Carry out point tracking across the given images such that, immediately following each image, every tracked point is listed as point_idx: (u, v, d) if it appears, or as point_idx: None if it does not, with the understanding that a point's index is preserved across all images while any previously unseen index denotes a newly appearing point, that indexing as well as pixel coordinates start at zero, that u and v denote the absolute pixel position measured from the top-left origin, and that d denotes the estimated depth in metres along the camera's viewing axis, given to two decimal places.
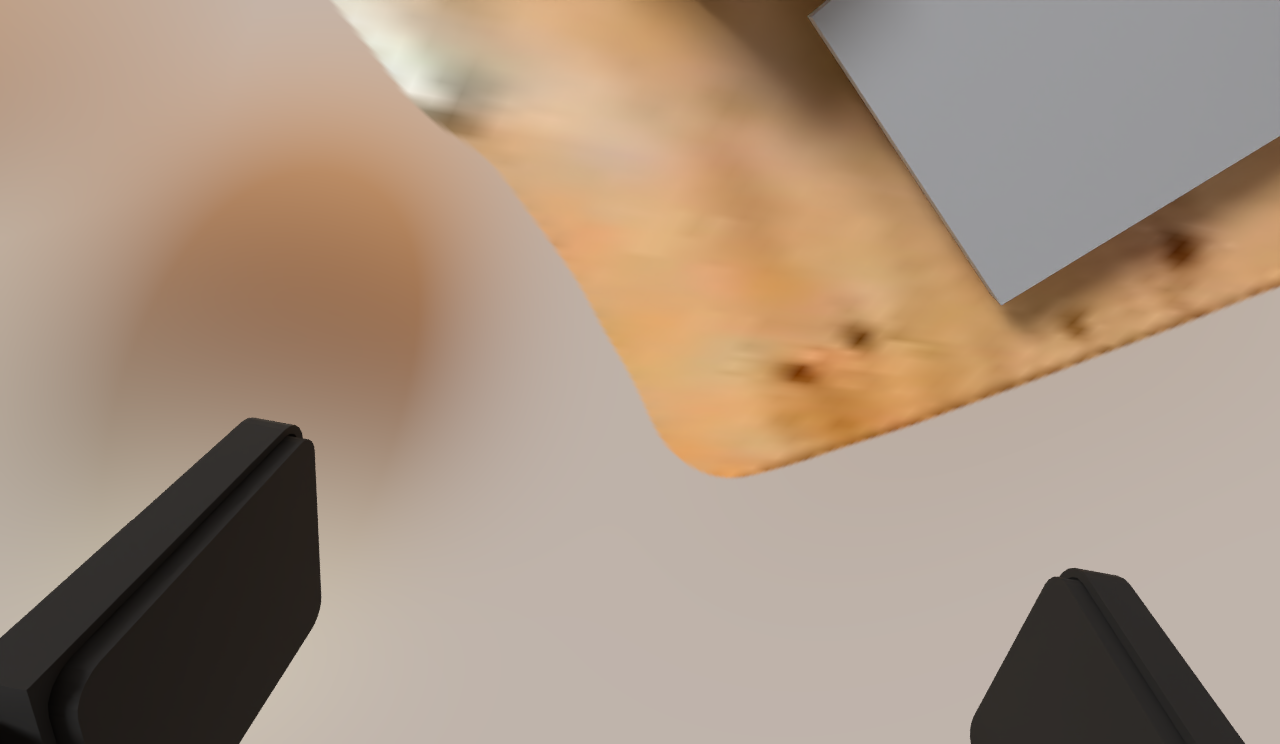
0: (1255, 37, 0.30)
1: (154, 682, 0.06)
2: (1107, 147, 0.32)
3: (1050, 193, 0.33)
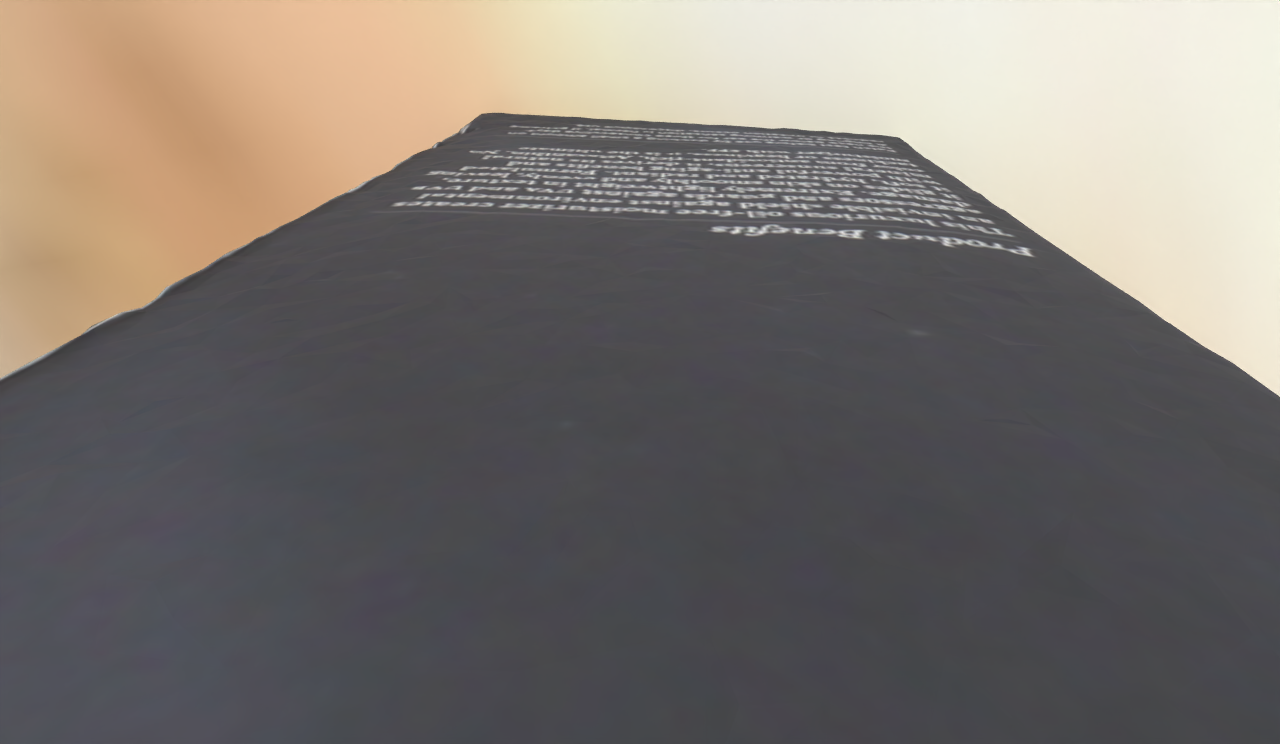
0: None
1: None
2: None
3: None
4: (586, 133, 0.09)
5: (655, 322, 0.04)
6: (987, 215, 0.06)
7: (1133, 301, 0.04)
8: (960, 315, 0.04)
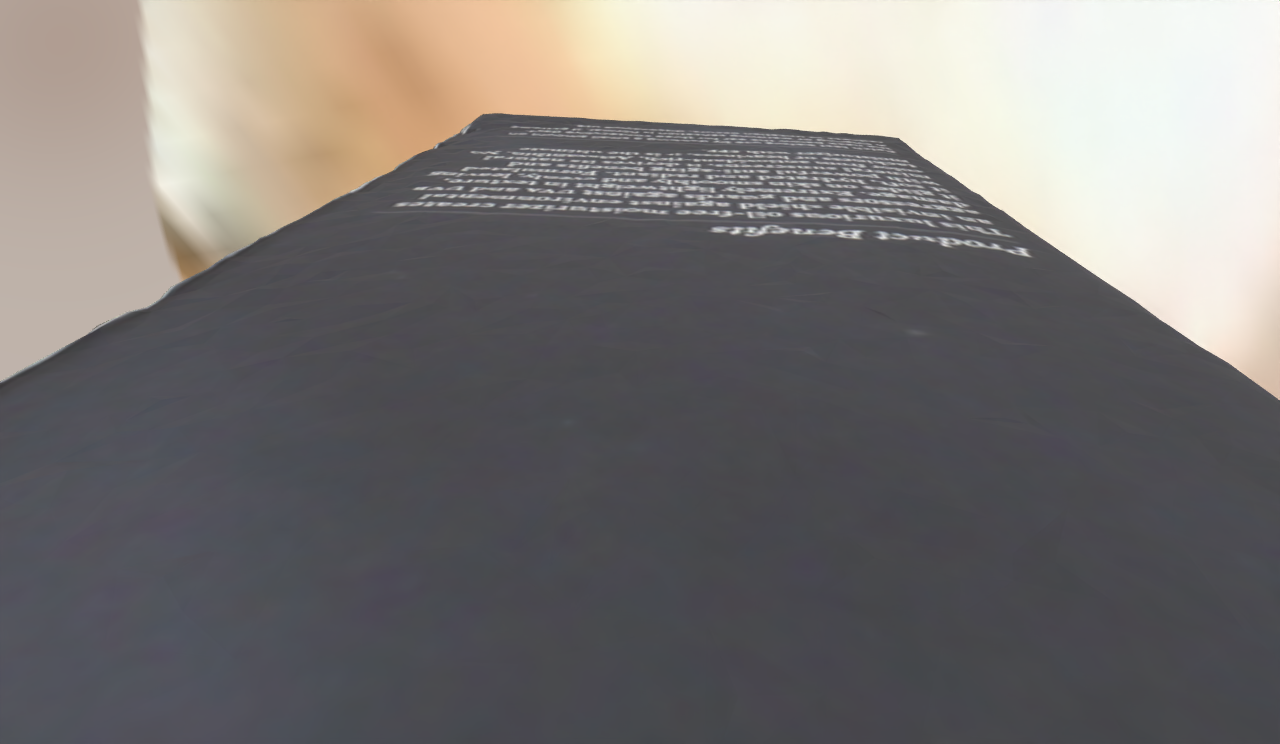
0: None
1: None
2: None
3: None
4: (587, 134, 0.09)
5: (655, 322, 0.04)
6: (986, 216, 0.06)
7: (1130, 301, 0.05)
8: (959, 313, 0.04)
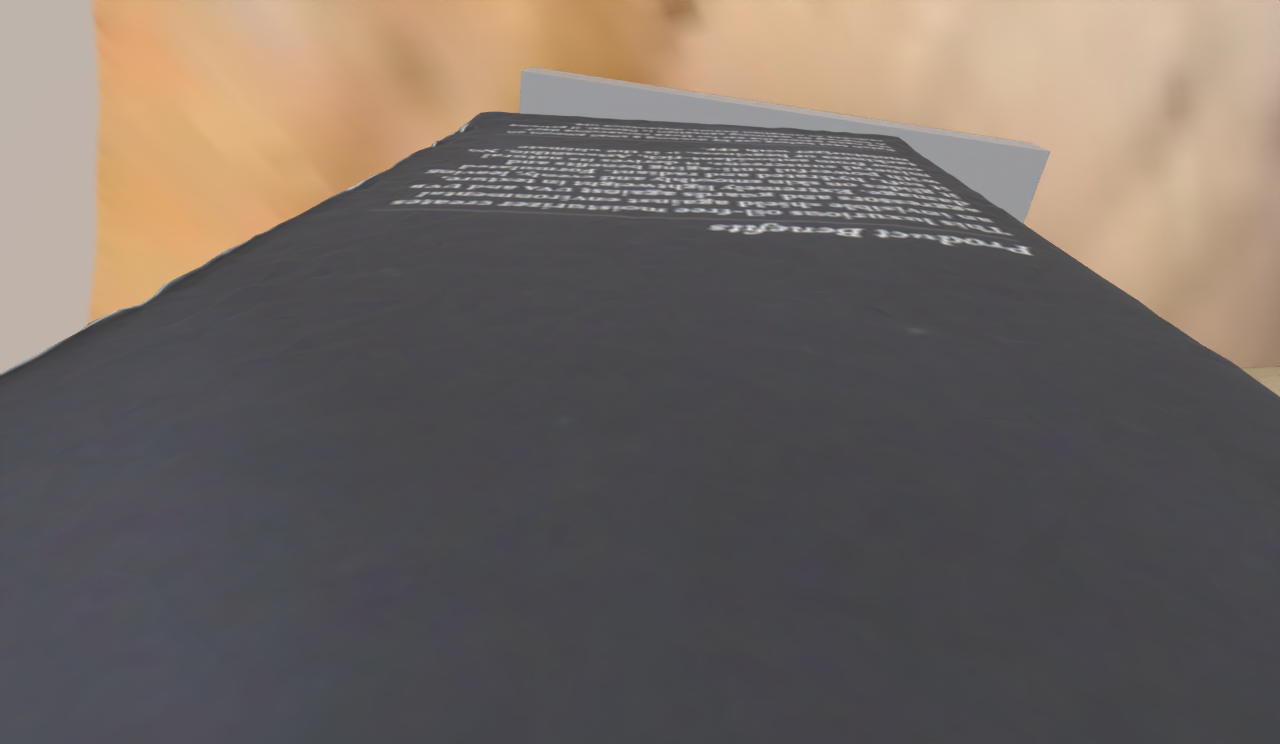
0: None
1: None
2: None
3: None
4: (585, 132, 0.09)
5: (653, 318, 0.04)
6: (986, 214, 0.06)
7: (1131, 300, 0.04)
8: (958, 313, 0.04)
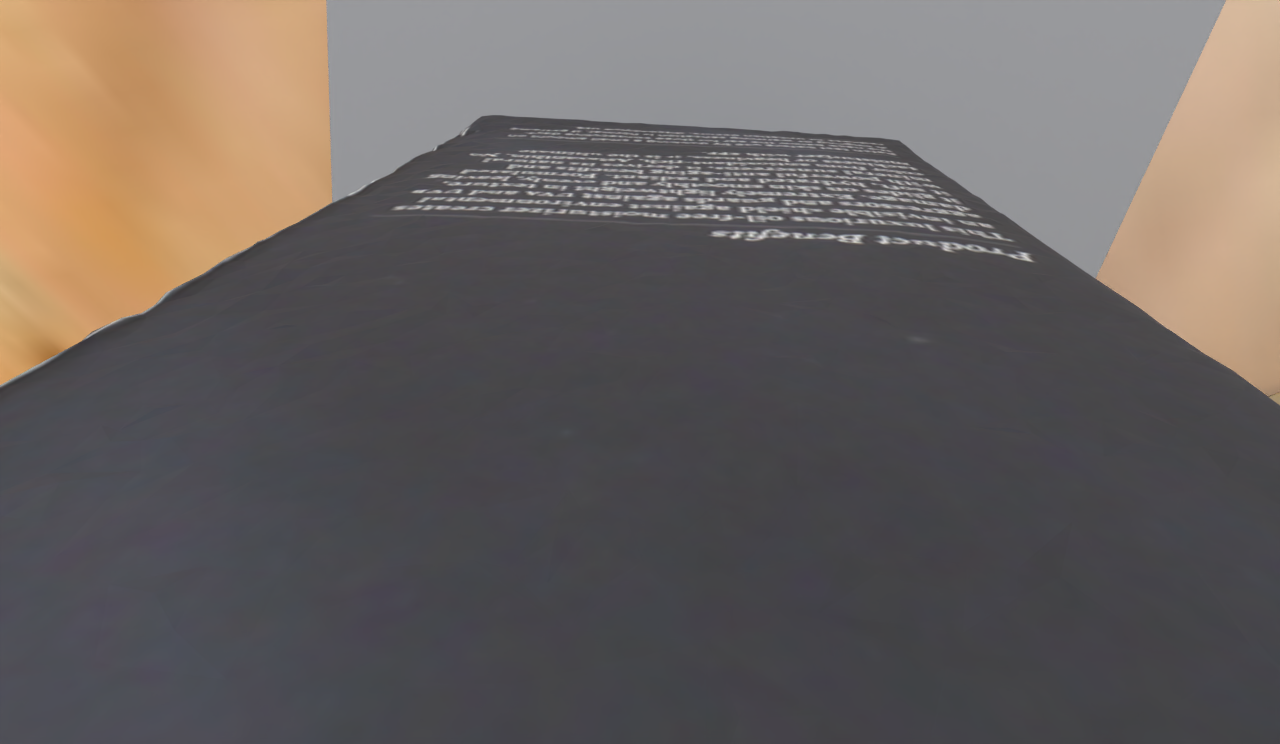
0: None
1: None
2: None
3: None
4: (586, 136, 0.09)
5: (655, 328, 0.04)
6: (987, 220, 0.06)
7: (1133, 307, 0.04)
8: (960, 320, 0.04)
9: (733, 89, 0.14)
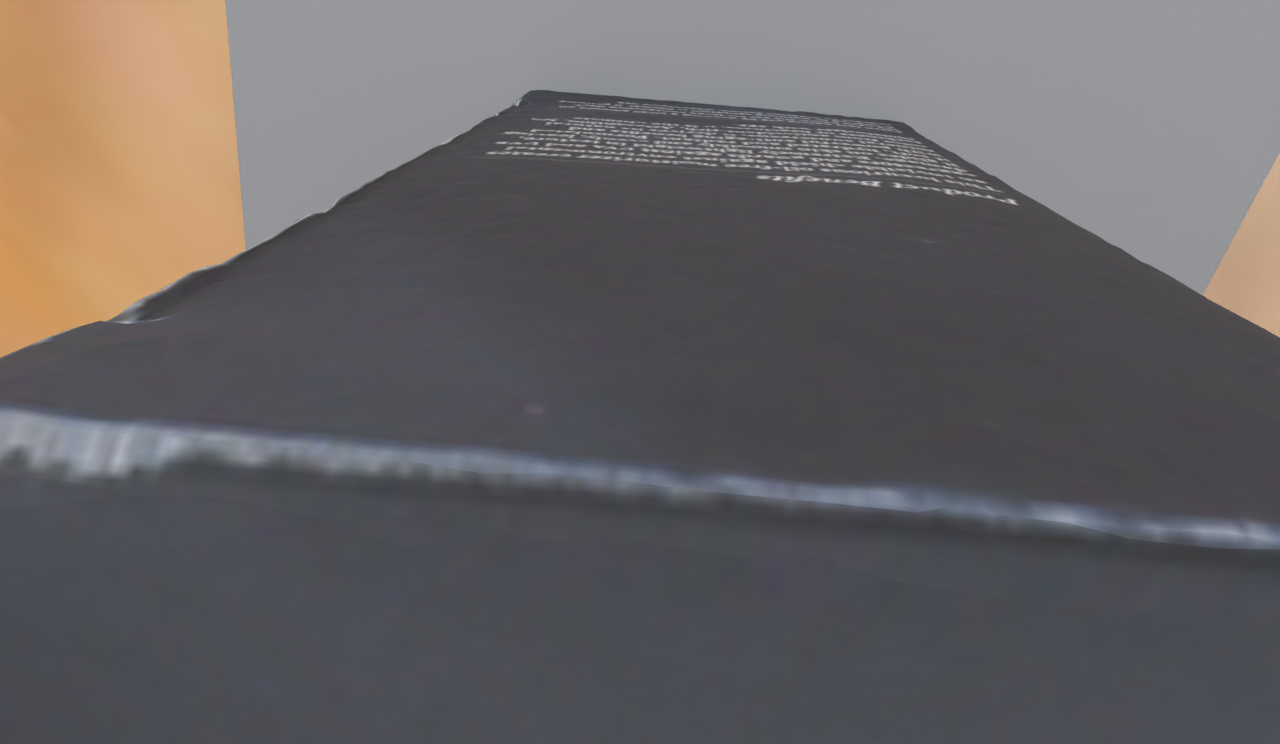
0: None
1: None
2: None
3: None
4: (628, 109, 0.10)
5: (729, 229, 0.05)
6: (981, 178, 0.07)
7: (1095, 236, 0.06)
8: (960, 233, 0.05)
9: None
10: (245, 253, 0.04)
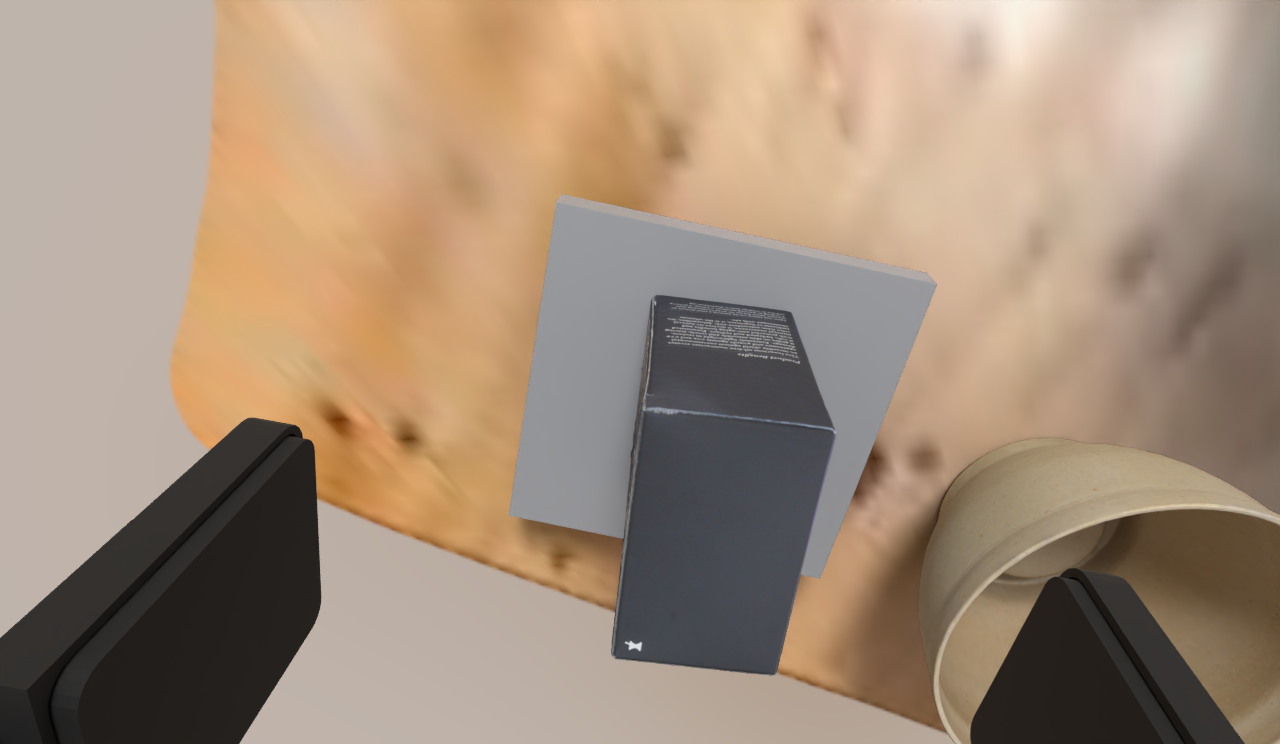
0: None
1: (154, 682, 0.06)
2: None
3: (602, 474, 0.36)
4: (694, 308, 0.31)
5: (732, 374, 0.25)
6: (797, 351, 0.28)
7: (811, 374, 0.26)
8: (778, 375, 0.25)
9: None
10: (649, 380, 0.24)
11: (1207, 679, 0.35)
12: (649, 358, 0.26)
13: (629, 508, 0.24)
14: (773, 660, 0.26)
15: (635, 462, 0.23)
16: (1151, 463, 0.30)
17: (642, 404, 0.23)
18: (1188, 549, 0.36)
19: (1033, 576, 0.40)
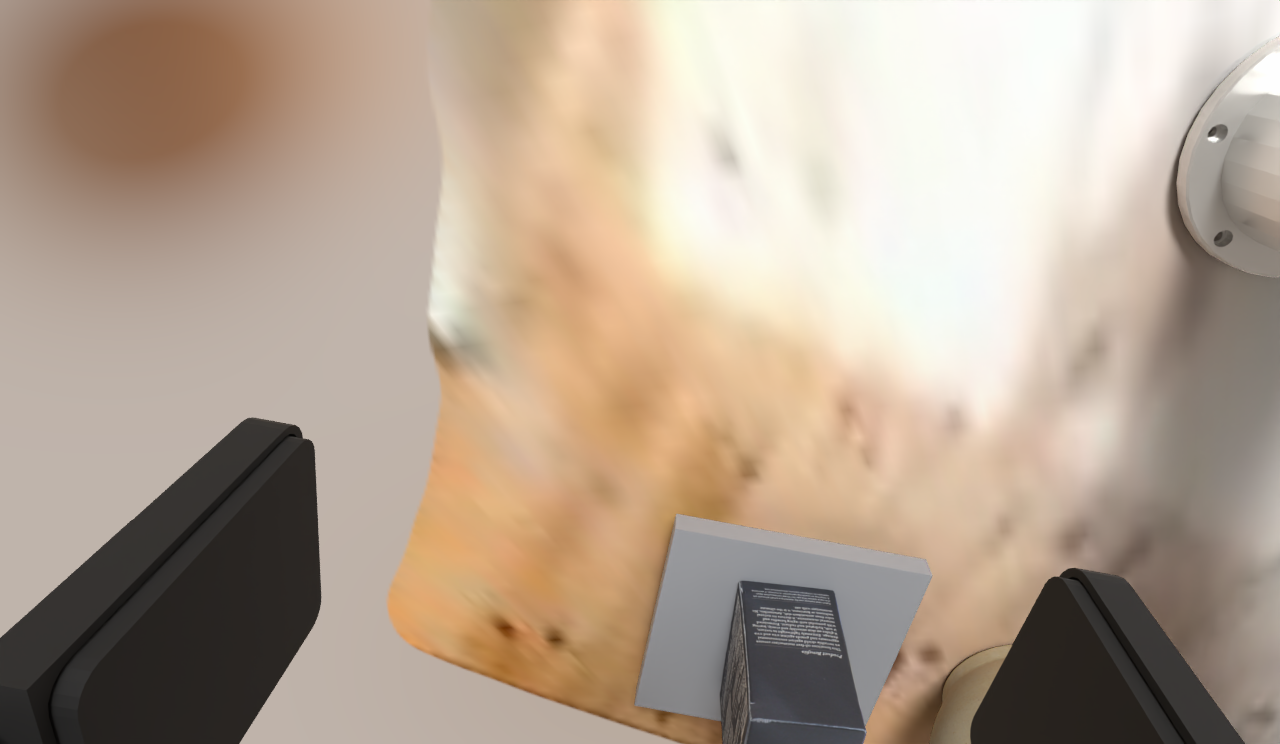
0: None
1: (154, 681, 0.06)
2: None
3: (701, 681, 0.51)
4: (768, 595, 0.46)
5: (800, 676, 0.40)
6: (839, 643, 0.43)
7: (849, 669, 0.41)
8: (829, 675, 0.41)
9: None
10: (750, 687, 0.40)
11: None
12: (746, 660, 0.41)
13: None
14: None
15: None
16: None
17: (749, 714, 0.38)
18: None
19: None
